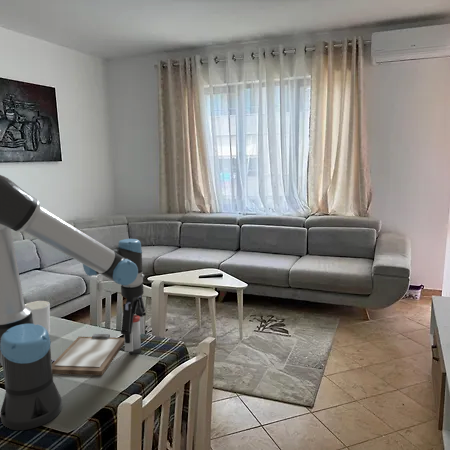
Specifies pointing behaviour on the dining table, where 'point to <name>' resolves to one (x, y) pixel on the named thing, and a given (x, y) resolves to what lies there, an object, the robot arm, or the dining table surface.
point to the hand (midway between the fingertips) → (135, 341)
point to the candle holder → (40, 313)
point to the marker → (136, 336)
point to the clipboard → (88, 355)
